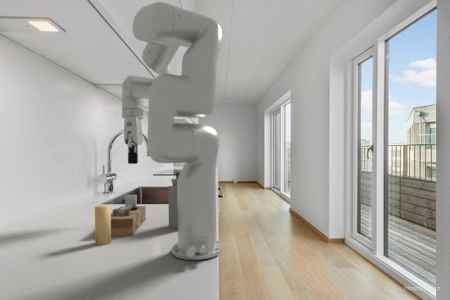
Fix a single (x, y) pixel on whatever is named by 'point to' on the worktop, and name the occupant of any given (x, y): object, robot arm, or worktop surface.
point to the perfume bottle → (173, 203)
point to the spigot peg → (102, 225)
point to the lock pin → (129, 203)
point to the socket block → (127, 221)
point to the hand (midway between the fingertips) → (132, 163)
